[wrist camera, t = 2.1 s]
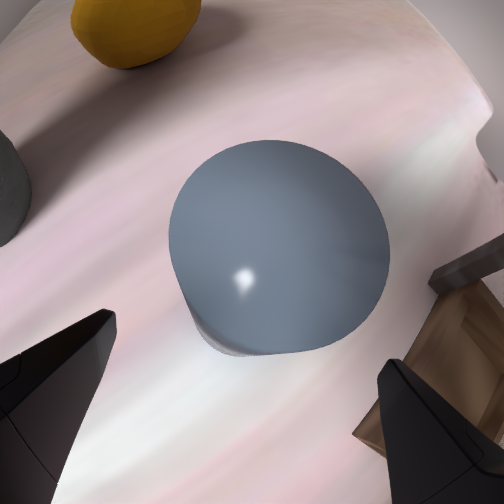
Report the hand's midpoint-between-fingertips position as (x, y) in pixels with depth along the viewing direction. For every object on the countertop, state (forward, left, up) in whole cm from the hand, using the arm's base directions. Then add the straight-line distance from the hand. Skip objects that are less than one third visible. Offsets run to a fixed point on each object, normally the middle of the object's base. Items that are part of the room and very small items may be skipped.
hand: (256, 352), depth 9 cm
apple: (+30, +5, -10) cm, 32 cm away
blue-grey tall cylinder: (+3, -1, -10) cm, 11 cm away
